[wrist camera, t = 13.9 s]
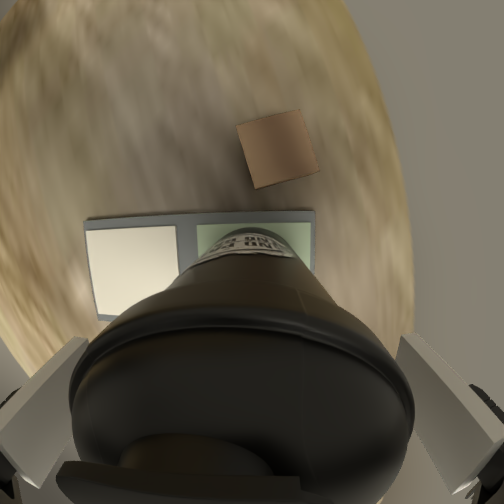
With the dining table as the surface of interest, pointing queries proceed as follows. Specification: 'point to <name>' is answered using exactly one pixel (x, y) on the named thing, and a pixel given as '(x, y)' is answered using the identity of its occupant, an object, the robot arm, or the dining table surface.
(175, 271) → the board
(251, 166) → the walnut block
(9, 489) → the robot arm
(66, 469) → the black travel mug
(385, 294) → the dining table surface
